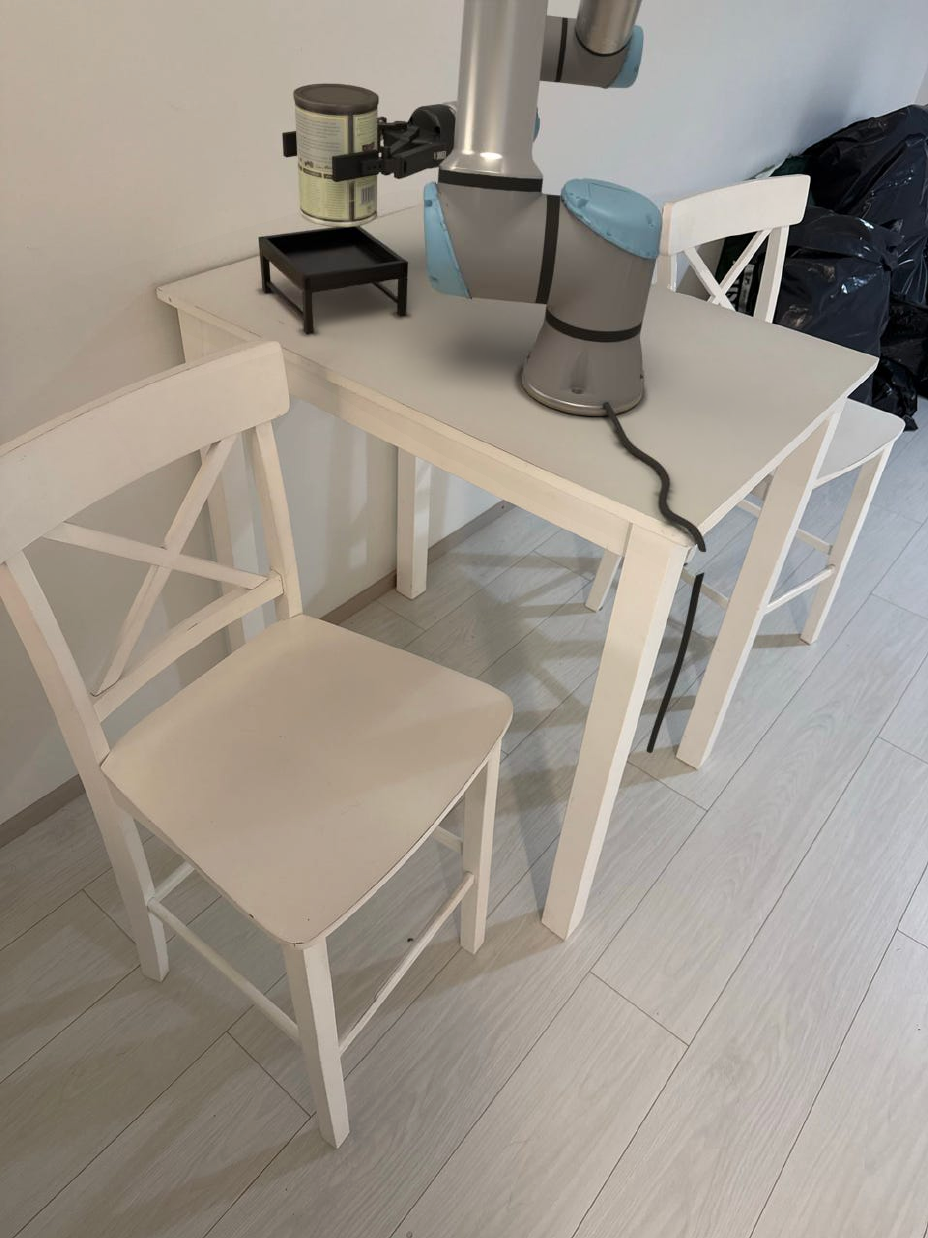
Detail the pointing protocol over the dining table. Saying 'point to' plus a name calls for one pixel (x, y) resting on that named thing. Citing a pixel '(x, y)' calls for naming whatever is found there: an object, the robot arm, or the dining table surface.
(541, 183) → the robot arm
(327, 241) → the stand
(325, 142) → the coffee can
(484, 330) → the dining table surface
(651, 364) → the dining table surface
